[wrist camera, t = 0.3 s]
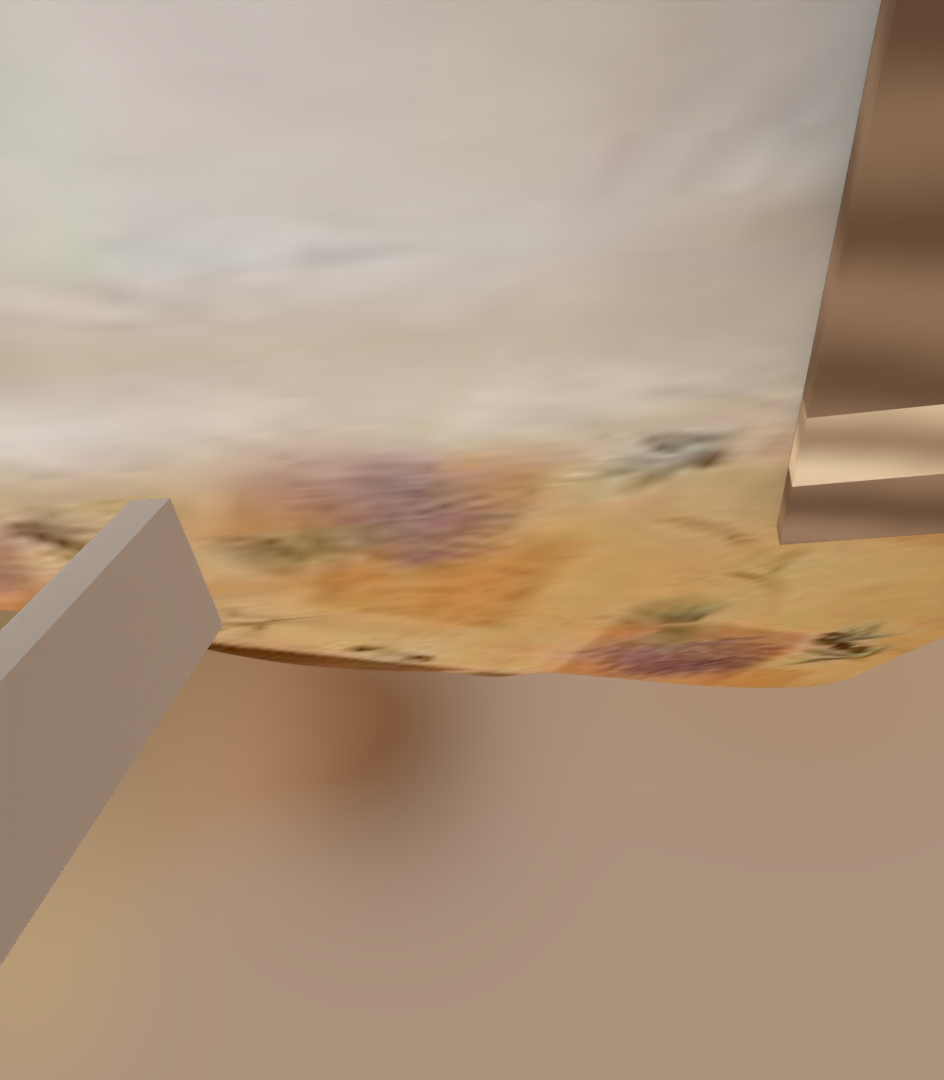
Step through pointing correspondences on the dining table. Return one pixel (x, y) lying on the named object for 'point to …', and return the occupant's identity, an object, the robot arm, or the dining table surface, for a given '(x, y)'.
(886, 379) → the board
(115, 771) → the robot arm
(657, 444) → the dining table surface
